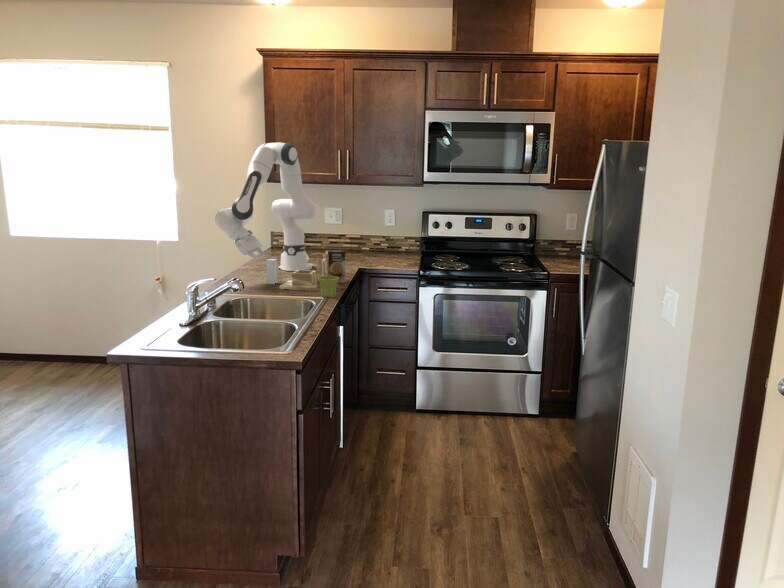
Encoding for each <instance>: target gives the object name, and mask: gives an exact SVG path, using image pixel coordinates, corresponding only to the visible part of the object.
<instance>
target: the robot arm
mask: <svg viewBox="0 0 784 588" xmlns="http://www.w3.org/2000/svg"><path fill="white" fill-rule="evenodd" d="M298 155H299V151H298V149H297V147H296V146H295V145H294V144H292V143H288V142H287V143H285V142H280V141H278V142H265V143H262V144H261V145H260V146H259V147H258V148H257V149H256V150H255V152H254V154H253V155H252V156H251V159H250V161H249V164H248V167H247V171H246V172H247V173H246V181H245V184H244V186H243V189H242V191H241V193H240V195H239V197H237V199H235V200H234V202H233V203H232V205H231V207H228V208H221V209H220V210H219V211H218V212H217V213H216V215H215V217H214V222H215V224H216V225H217V226H218V227H219V229H220V230H221V231H222V232H223V233H224V234H225V235H227V236H228V238H229V240H230V241H232V243H233V244H234V246H235V247H236V249H238V251H239V252H240V253H241V254H242V255H243V256H247V255H248V256H249V257H251V258H252V259H254V261H257V260H258V259H259V257H261V258H263V257H265V255H266V254H265V252H264V251H263V250H262V246H263V245H262V243H261V242H260V241H259V239H258V238H257V237H256V236H255V235H253V234H254V232H253V231H251V230H248V229H247V228H245V227H244V226H245V225H247V224H248V223H250V222H251V221H252V219H253V214H254V199H255V197H256V195H257V192H258V189H259V187H260V186H261V185H263V184H265V183H266V182H267V180H268V179H269V176H270V174H271V172H272V169H273V165H279V176H280V185H281V189H282V191H283V192H284V193H285V194H287V195H288V196H289V197H290V198H280V199H275V200H274V201H273V202H272V204H271V212H272V214H273V216H274V218H276V219H277V220H278V221H279V223H280V224H281V227H282V231H283V246H282V248H283V249H282V250H283V252H282V253H281V254H280V265H279V266H277V269H279V268H280V270H282V271H285V272H286V271H289V272H295V271H296V270H310V269H311V270H312V267H313V263H310V261H309V255H308V254H307V252H306V244H307V243H305V231H304V229H303V228H302V227H301V226H300V225H298V223H297V222H296V220H298V221H299V220H300V221H302V220H303V221H306V220H313V218H314V217H315V216H316V214H317V206H316V204H315V203H314V202H313V200H311V199H310V198H309V197H308V195H307V194H306V192H305V190H304V187H303V180H302V174H301V165H300V161H299V158H298V157H299V156H298ZM255 252H257V253H258V254H259V256H258V255H257V254H255Z"/></svg>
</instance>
